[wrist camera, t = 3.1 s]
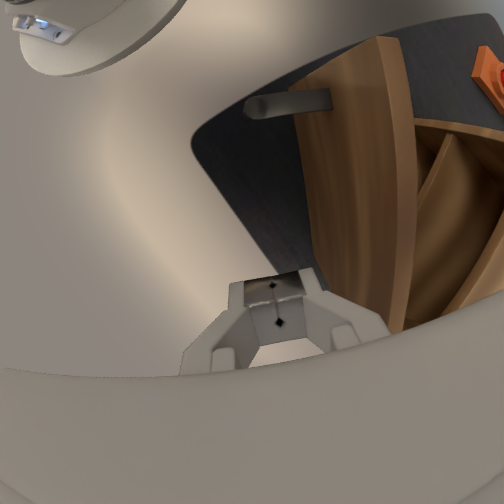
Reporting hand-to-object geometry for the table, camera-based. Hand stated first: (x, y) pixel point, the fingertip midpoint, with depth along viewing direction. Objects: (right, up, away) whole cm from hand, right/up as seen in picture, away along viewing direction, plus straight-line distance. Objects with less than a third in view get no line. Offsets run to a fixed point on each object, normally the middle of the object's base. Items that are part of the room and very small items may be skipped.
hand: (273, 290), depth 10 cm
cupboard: (+21, +7, +24) cm, 33 cm away
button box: (+40, +30, +14) cm, 52 cm away
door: (+3, +10, +22) cm, 24 cm away
